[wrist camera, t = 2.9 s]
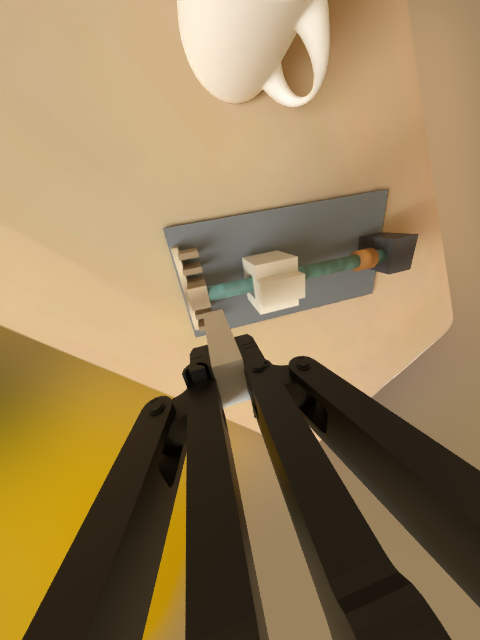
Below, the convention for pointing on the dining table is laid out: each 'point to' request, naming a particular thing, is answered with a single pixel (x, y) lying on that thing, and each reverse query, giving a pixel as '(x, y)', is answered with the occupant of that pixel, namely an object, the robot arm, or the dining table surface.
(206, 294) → the comb rail
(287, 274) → the sleeve
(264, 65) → the mug
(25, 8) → the dining table surface
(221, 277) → the mat
